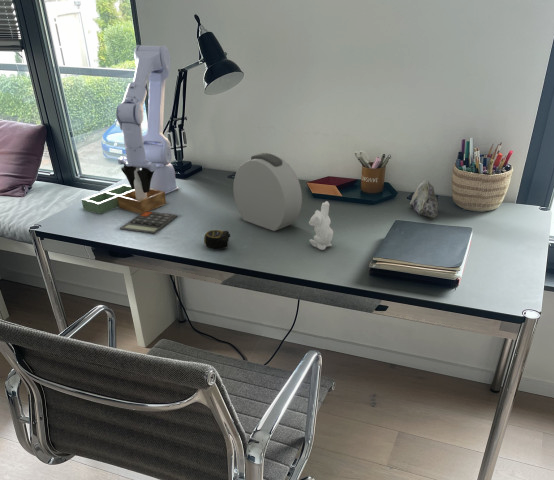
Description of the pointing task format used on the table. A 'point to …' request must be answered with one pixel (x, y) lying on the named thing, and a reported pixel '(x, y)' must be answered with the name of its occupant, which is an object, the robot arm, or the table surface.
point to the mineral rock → (425, 200)
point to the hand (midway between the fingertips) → (140, 190)
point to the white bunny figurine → (321, 227)
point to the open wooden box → (148, 204)
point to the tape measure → (216, 239)
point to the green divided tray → (105, 199)
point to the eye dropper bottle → (138, 187)
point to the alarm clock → (267, 192)
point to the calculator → (149, 222)
